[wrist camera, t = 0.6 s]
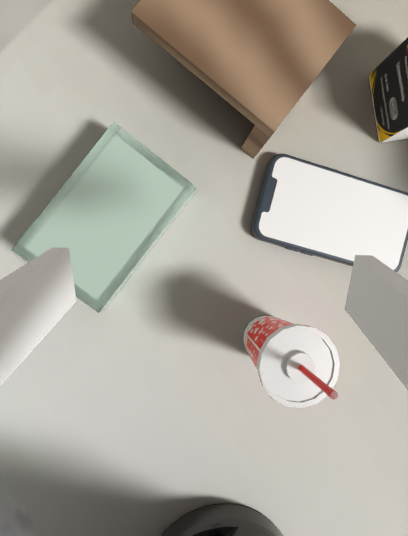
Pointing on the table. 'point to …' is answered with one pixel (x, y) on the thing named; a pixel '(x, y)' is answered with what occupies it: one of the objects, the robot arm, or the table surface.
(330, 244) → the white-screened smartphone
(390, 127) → the medicine bottle
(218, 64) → the walnut shelf
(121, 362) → the table surface
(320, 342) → the beverage cup
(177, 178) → the bevelled sage-green slab
